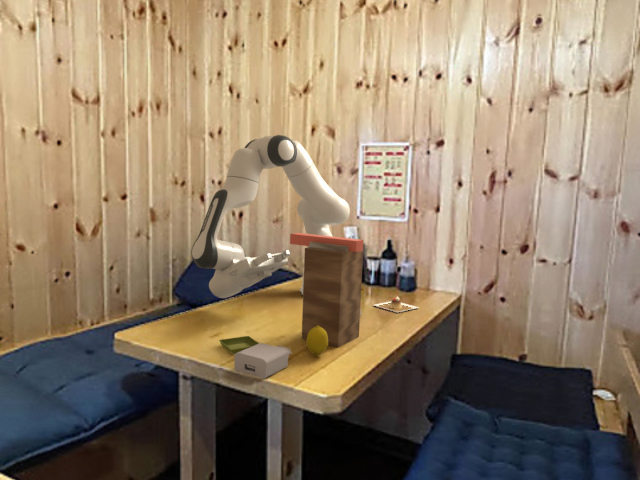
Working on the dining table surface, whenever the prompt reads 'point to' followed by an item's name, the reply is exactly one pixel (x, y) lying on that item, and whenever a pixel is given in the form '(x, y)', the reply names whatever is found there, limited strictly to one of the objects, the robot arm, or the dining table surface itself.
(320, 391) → the dining table surface
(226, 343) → the green square tray
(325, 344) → the lemon
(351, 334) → the wooden knife block
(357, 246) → the salmon red bar
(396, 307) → the dessert
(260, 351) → the charger
